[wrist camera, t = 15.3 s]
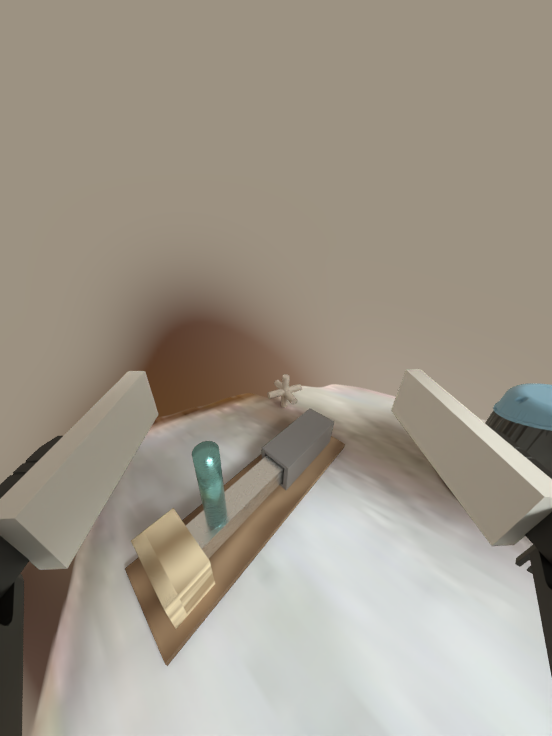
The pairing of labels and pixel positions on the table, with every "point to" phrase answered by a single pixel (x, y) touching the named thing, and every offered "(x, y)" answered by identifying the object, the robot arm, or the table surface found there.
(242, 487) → the bar with teal cylinder
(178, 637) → the base board
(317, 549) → the table surface
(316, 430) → the outer sleeve
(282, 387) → the pipe connector
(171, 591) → the socket block
